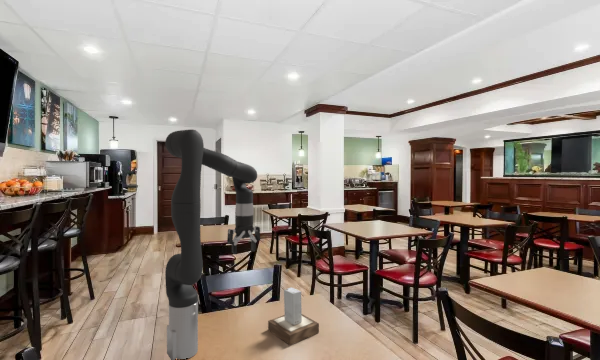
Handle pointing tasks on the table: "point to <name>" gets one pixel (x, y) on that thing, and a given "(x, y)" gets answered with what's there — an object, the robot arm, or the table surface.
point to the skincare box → (292, 306)
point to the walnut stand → (293, 329)
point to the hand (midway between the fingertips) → (244, 252)
